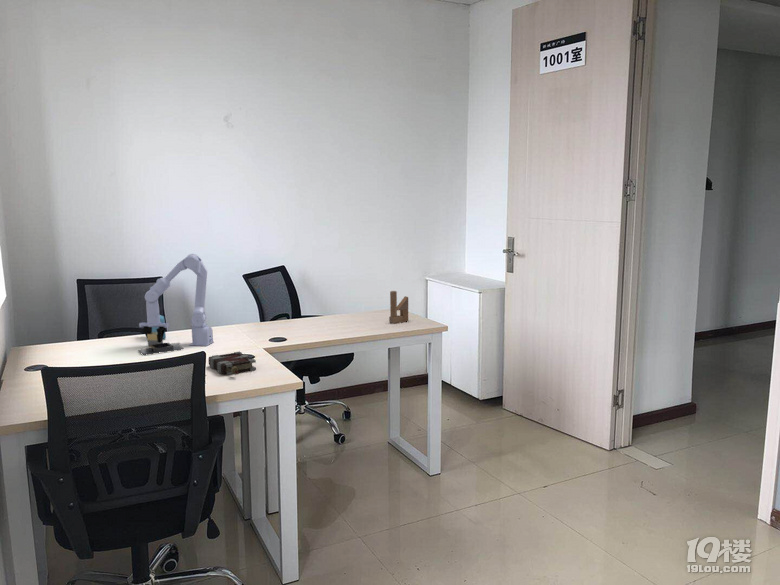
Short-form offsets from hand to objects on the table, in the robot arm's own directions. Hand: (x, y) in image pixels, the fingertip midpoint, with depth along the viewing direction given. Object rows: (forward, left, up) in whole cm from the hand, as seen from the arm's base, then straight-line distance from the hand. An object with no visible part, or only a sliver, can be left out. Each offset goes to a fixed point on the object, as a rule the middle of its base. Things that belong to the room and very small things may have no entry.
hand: (155, 341), depth 312 cm
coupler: (0, 0, -2) cm, 2 cm away
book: (-56, +34, -3) cm, 65 cm away
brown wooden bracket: (-109, -70, -3) cm, 129 cm away
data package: (+8, -16, -3) cm, 19 cm away
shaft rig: (-7, +7, -2) cm, 10 cm away
